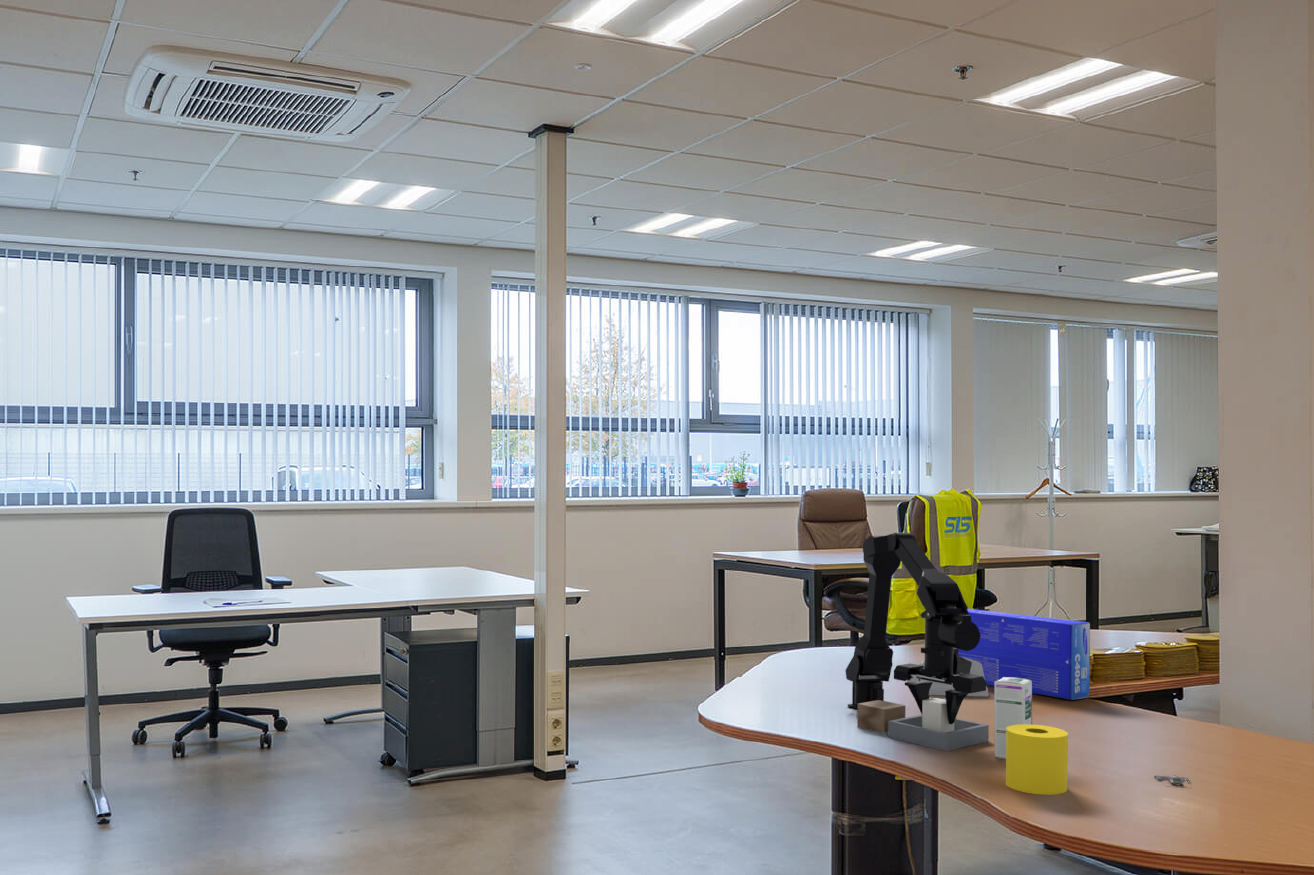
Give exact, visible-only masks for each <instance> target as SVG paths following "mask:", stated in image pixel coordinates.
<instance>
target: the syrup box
mask: <svg viewBox="0 0 1314 875" xmlns="http://www.w3.org/2000/svg"><path fill="white" fill-rule="evenodd" d="M993 691H994V698H993V699H994V701H993V702H994V757H995V758H998V759H1005V760H1006V728H1007V727H1008V726H1011V725H1019V724H1030V725H1033V693H1032V681H1031V680H1029V679H1023V678H1014V677H1003V678H1002V679H1000V680H998V681H995V682H994V690H993Z"/></svg>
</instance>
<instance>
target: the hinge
mask: <svg viewBox="0 0 1314 875" xmlns="http://www.w3.org/2000/svg"><path fill="white" fill-rule="evenodd" d="M962 658H964V657H962ZM964 659H967V660H969V661H971V662H972V665H971V670H970V674H973V675H979V676H983V677H984V672H983V667H982V664H981V663H980V662H977V661H975V660H972V659H968V658H964ZM919 665H922V666H924V668H925V660H922V661H921V662H920V663H919ZM954 676H958V675H954ZM932 677H933V676H932ZM942 679H943V678H942ZM984 679H985V677H984ZM927 681H928V680H927ZM930 682H933V681H930ZM947 690H952V685H949V684H944V683H939V682H933V683H932V685H931V688H930V690H929V696H945V691H947ZM966 697H986V698H987V697H989V689H988V686H986V691H981V692H975V693H969V694H968V695H967V696H966Z"/></svg>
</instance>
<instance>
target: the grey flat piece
mask: <svg viewBox="0 0 1314 875" xmlns="http://www.w3.org/2000/svg"><path fill="white" fill-rule="evenodd" d="M1153 779H1155V780H1156V781H1157V782H1161V781H1168V783H1169V782H1171V784H1172V783H1173V784H1180V786H1181V785H1182V784H1183V785H1184V781H1187V782H1188V781H1189V782H1190V783H1191V780H1190V779H1189V777H1183V776H1182V777H1181V776H1177V775H1172V776H1169V775H1168V776H1167V775H1154V778H1153ZM1171 784H1170V785H1171ZM1173 784H1172V785H1173Z"/></svg>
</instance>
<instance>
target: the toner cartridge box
mask: <svg viewBox="0 0 1314 875" xmlns="http://www.w3.org/2000/svg"><path fill="white" fill-rule="evenodd" d="M967 610H968V613H969V615H971V622H973V623H974V624H975V625H976V626H977V627H978V629H979V632H980V641H979V643H978V645H977V646H976V647H975V648H974V649H972V650H970V651H964V650H961V649H958V651H959V657H964V658H968V659H972V660H975V661H977V662H980V663H981V664H982V667H983V672H984V677H985V680H986V686H987V687H994V682H995V681H998V680H1000V679H1002V678H1003V677H1014V678H1023V679H1029V680H1031V681H1032V694H1035V695H1042V696H1047V697H1052V698H1053V697H1054V698H1059V699H1066V700H1068V701H1073V700H1074V701H1075V700H1080V699H1085V698H1089V696H1090V681H1091V680H1090V676H1091V674H1090V670H1091V669H1090V668H1091V665H1090V664H1091V662H1090V659H1091V638H1090V637H1091V624H1090V622H1087V621H1079V620H1071V619H1070V620H1069V619H1060V618H1052V617H1044V616H1043V617H1042V616H1036V615H1035V616H1034V615H1025V614H1019V613H1018V614H1017V613H1009V612H999V611H991V610H981V609H974V608H973V609H972V608H968V609H967Z"/></svg>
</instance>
